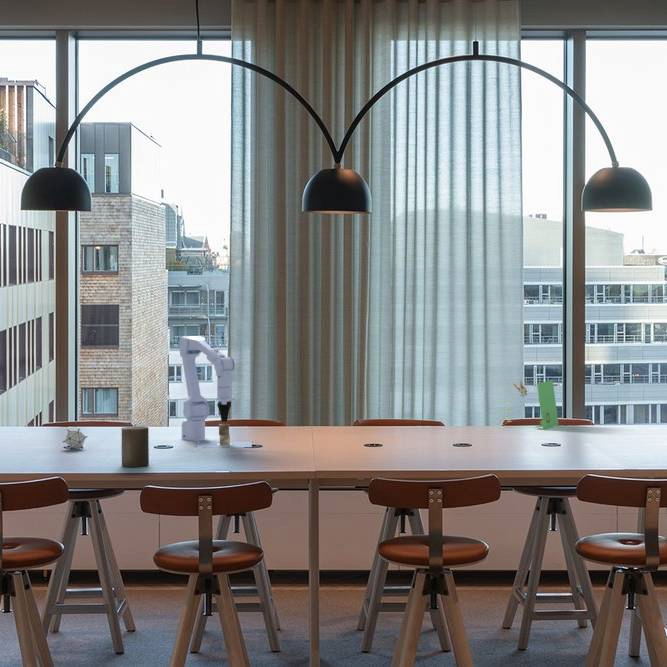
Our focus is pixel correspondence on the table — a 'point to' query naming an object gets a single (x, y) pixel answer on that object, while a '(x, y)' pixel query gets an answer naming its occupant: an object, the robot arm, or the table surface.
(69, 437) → the beige spiky star ball
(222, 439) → the maple cube
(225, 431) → the walnut cube
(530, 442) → the table surface
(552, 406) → the toy game set
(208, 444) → the board
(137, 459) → the pillar candle
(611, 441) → the table surface
